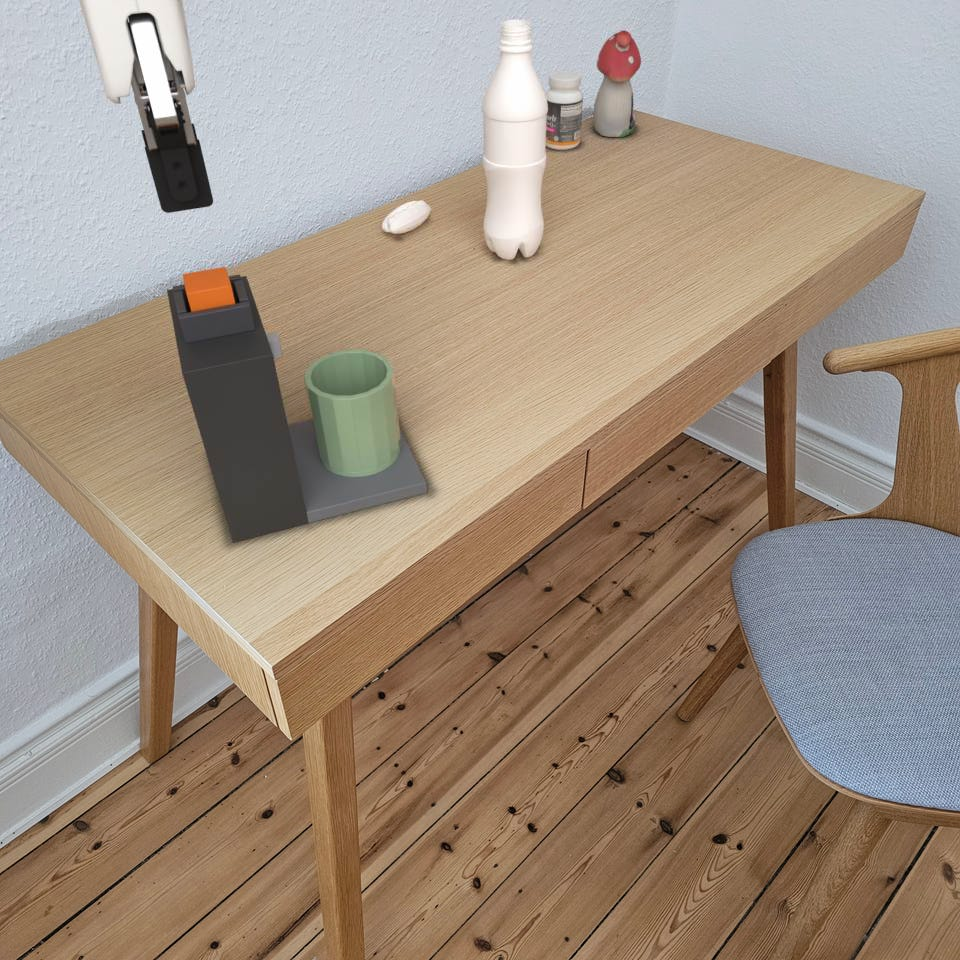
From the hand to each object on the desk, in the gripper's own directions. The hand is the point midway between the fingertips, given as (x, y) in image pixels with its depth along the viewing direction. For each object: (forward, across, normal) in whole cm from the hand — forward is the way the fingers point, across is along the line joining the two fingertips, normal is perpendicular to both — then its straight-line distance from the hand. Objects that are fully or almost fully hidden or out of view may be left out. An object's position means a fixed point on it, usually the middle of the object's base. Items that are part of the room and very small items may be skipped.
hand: (185, 196), depth 55 cm
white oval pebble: (+25, -43, +26) cm, 56 cm away
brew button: (+8, 0, 0) cm, 8 cm away
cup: (+24, 0, +9) cm, 26 cm away
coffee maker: (+25, 0, +5) cm, 26 cm away
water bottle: (+25, -32, +36) cm, 54 cm away
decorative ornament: (+25, -64, +66) cm, 95 cm away
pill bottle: (+25, -62, +56) cm, 87 cm away
